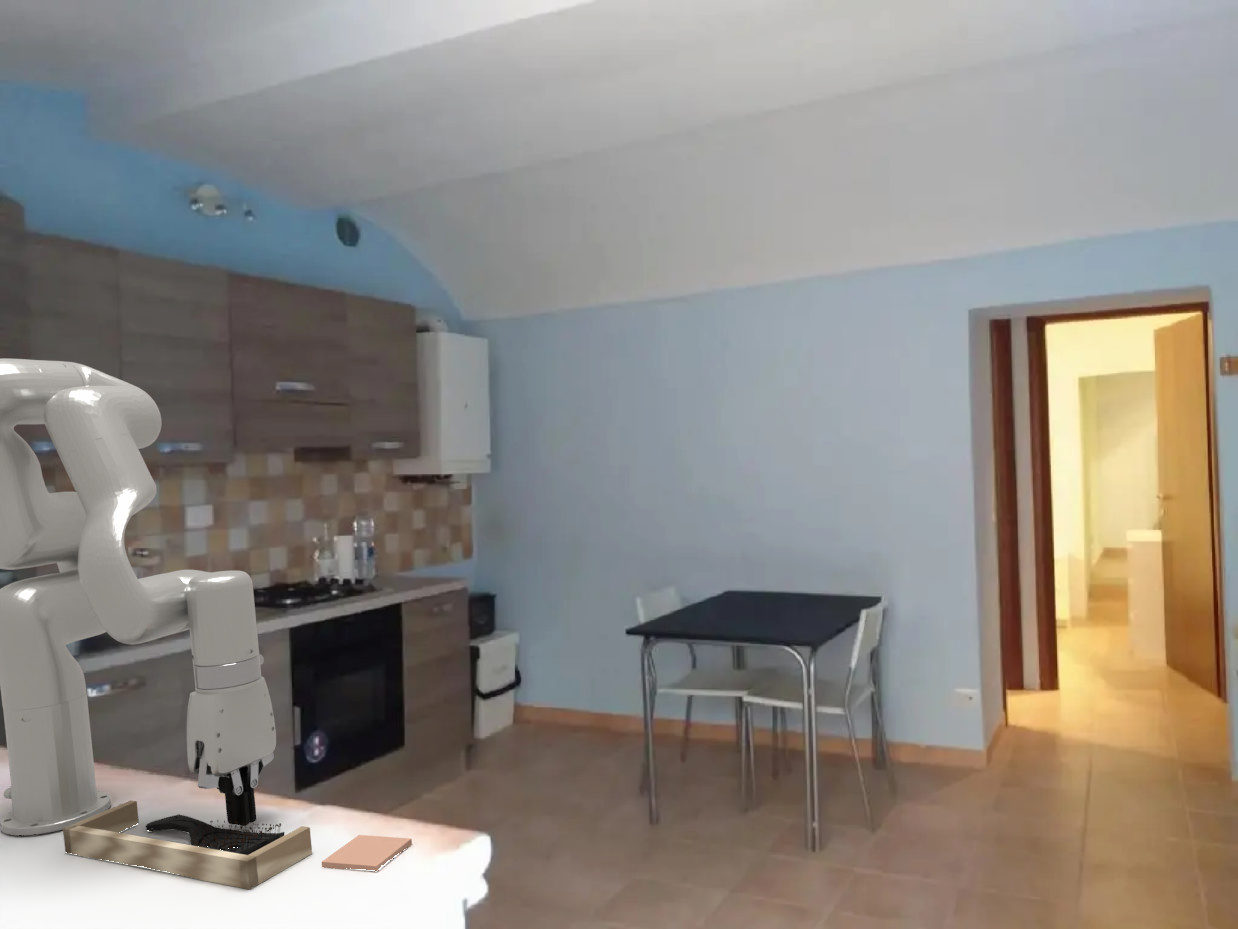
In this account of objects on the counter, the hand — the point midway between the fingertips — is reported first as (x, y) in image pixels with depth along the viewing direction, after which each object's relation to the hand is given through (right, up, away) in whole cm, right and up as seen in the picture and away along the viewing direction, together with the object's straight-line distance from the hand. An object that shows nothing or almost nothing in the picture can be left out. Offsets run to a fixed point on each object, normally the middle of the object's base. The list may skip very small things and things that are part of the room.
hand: (242, 822), depth 121 cm
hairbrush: (-3, -2, -3) cm, 5 cm away
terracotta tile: (+18, 0, -11) cm, 21 cm away
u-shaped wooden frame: (-4, -1, -6) cm, 8 cm away
